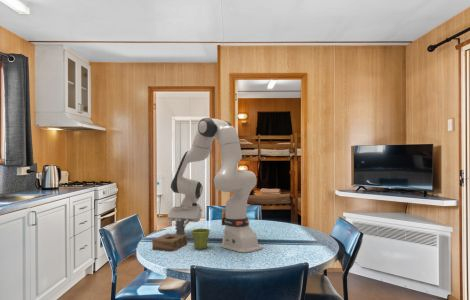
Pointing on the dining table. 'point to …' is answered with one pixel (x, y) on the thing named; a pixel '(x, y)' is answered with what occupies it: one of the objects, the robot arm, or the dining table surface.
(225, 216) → the ammunition clip
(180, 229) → the servo
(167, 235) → the brown wooden box
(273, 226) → the dining table surface
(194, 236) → the plant pot
